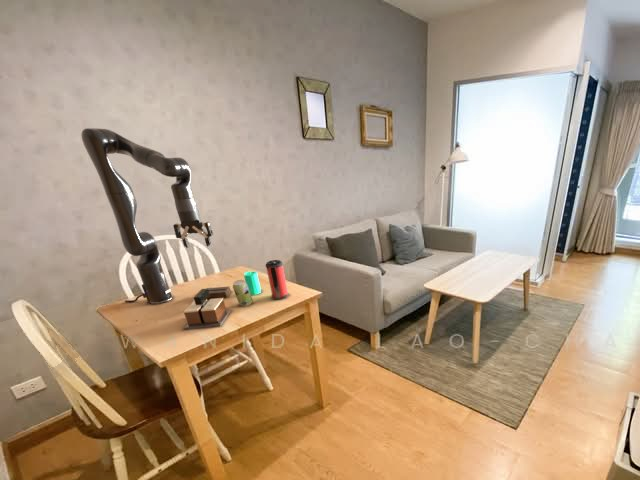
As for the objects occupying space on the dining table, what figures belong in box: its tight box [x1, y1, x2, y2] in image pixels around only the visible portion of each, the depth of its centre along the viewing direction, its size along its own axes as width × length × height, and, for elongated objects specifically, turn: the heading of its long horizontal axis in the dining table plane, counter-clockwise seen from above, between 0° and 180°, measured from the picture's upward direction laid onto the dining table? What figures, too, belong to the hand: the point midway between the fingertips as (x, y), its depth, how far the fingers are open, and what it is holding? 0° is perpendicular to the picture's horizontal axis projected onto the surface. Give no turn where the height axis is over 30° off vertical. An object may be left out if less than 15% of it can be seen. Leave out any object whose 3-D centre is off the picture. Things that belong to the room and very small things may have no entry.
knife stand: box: [206, 286, 232, 300], centre depth 166 cm, size 11×8×3 cm
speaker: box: [265, 259, 289, 300], centre depth 160 cm, size 8×8×18 cm
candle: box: [243, 270, 262, 296], centre depth 166 cm, size 6×6×12 cm
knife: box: [193, 288, 210, 322], centre depth 140 cm, size 9×2×12 cm, turn 9°
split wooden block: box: [183, 298, 231, 330], centre depth 141 cm, size 14×14×7 cm
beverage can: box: [232, 279, 253, 307], centre depth 153 cm, size 6×7×12 cm
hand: (198, 246), depth 146 cm, fingers open, 8 cm apart
